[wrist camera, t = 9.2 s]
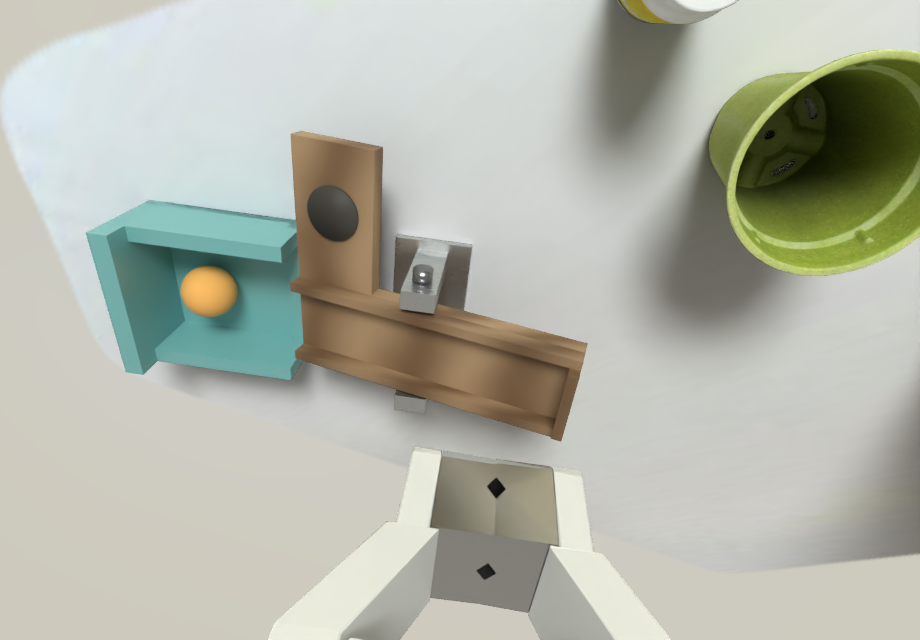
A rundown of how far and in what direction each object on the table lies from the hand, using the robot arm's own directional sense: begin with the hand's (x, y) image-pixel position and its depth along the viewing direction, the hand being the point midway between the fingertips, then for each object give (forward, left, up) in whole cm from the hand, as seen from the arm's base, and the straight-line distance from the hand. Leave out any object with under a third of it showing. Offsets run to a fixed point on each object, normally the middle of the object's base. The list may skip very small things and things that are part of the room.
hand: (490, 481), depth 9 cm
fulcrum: (+4, +11, -25) cm, 28 cm away
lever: (+3, +7, -20) cm, 22 cm away
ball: (+19, +11, -23) cm, 31 cm away
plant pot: (-14, -3, -25) cm, 29 cm away
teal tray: (+18, +11, -25) cm, 33 cm away
